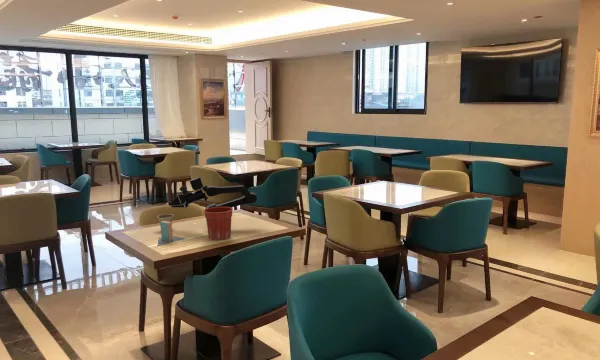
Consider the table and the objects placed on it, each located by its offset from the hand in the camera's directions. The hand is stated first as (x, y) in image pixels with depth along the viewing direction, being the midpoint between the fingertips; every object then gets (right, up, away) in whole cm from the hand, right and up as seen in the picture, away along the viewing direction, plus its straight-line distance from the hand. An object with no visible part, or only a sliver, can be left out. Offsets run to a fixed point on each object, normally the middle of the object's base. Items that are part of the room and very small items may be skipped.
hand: (170, 205), depth 293 cm
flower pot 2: (+32, -17, -15) cm, 40 cm away
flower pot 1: (-4, -15, +6) cm, 17 cm away
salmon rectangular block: (+3, -18, -19) cm, 26 cm away
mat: (+1, -19, -21) cm, 28 cm away
